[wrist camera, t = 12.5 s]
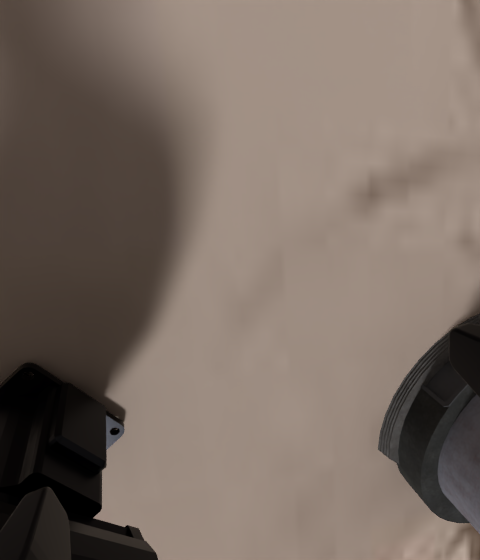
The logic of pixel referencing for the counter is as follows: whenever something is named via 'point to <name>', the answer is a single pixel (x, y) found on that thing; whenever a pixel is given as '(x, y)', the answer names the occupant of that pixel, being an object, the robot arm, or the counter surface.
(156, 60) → the counter surface
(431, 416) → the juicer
